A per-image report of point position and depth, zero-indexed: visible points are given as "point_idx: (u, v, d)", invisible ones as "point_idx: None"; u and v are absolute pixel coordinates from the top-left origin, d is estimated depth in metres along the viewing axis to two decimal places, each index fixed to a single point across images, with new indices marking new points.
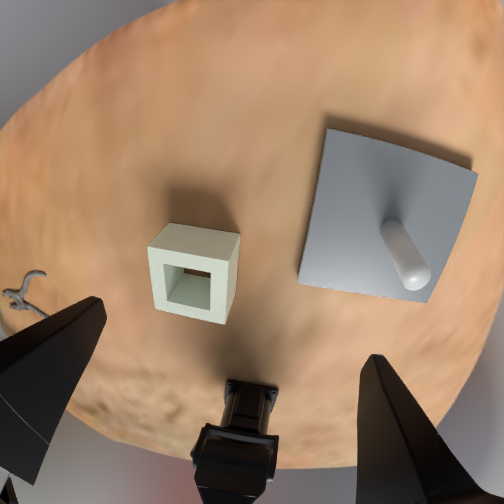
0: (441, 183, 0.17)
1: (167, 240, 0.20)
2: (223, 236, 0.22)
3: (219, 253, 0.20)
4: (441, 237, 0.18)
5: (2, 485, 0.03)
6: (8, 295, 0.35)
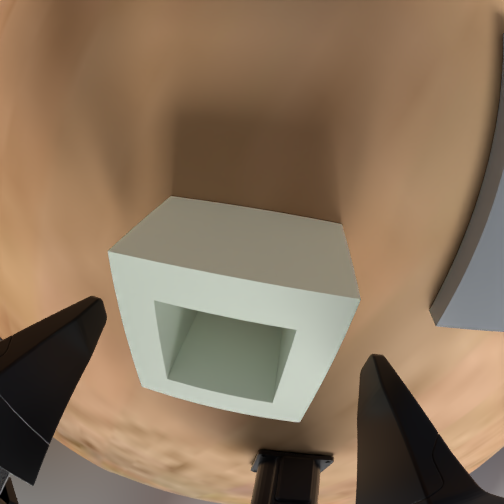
0: None
1: (164, 235, 0.07)
2: (309, 228, 0.09)
3: (324, 274, 0.07)
4: None
5: (2, 484, 0.03)
6: None
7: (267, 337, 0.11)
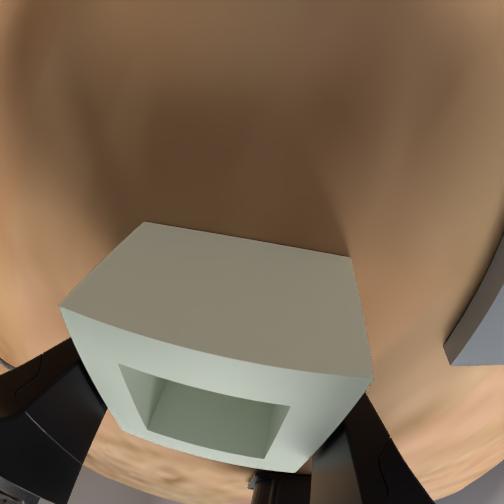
0: None
1: (127, 283, 0.06)
2: (310, 267, 0.07)
3: (328, 342, 0.05)
4: None
5: None
6: None
7: None
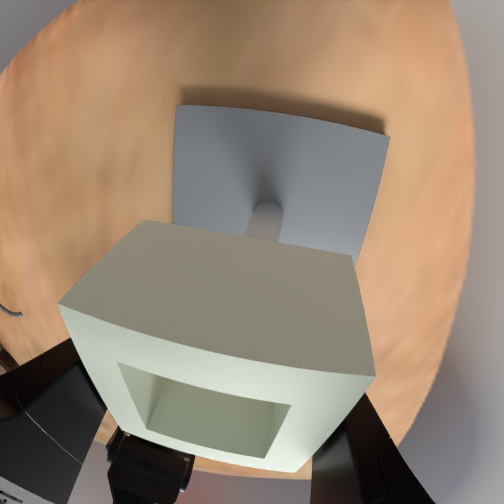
0: (331, 152, 0.14)
1: (126, 280, 0.06)
2: (311, 264, 0.07)
3: (329, 340, 0.05)
4: (343, 224, 0.16)
5: None
6: None
7: None
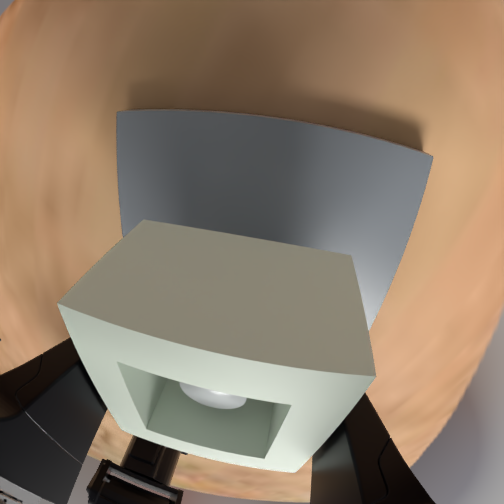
0: (345, 178, 0.09)
1: (126, 280, 0.06)
2: (311, 264, 0.07)
3: (329, 340, 0.05)
4: (358, 280, 0.11)
5: None
6: None
7: None
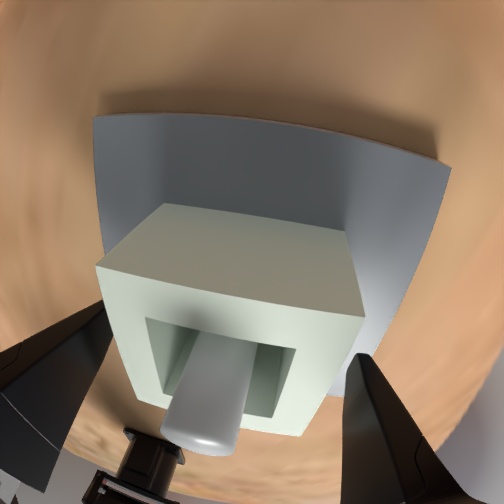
0: (351, 193, 0.08)
1: (155, 247, 0.07)
2: (310, 237, 0.08)
3: (326, 290, 0.06)
4: None
5: (12, 494, 0.03)
6: None
7: (267, 348, 0.11)
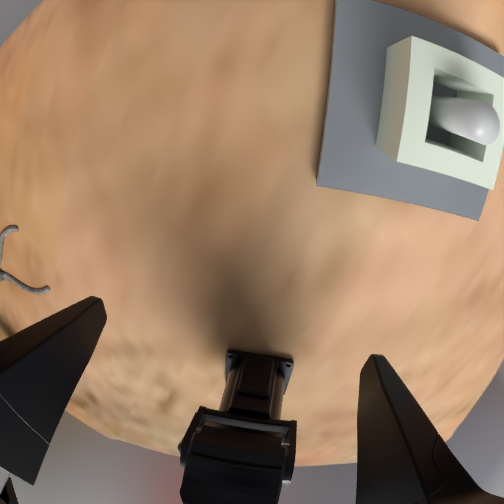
0: None
1: None
2: None
3: None
4: None
5: (2, 485, 0.03)
6: None
7: (449, 146, 0.12)
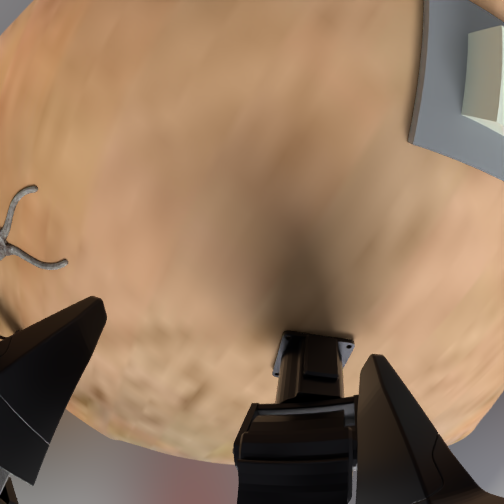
0: None
1: None
2: None
3: None
4: None
5: (2, 484, 0.03)
6: None
7: None
